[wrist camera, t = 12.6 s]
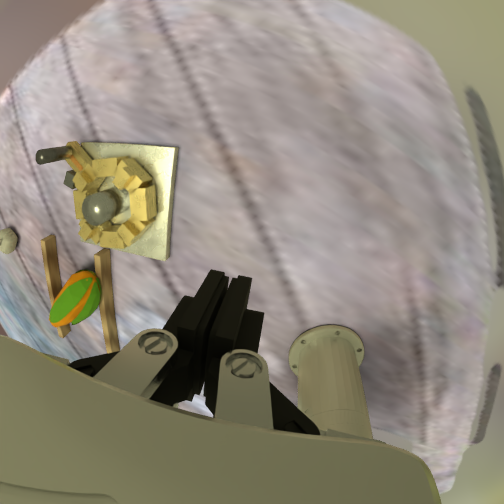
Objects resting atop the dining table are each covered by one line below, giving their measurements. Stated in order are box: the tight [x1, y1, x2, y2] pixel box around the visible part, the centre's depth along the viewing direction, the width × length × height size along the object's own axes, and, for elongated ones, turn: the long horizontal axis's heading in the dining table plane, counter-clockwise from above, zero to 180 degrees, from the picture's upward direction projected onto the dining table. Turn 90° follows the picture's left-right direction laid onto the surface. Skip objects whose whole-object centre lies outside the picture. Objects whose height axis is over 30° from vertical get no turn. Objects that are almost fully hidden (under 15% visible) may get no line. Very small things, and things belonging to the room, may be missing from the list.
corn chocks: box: [41, 235, 120, 353], centre depth 46 cm, size 22×14×3 cm, turn 171°
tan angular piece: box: [36, 141, 157, 249], centre depth 34 cm, size 18×12×8 cm
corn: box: [49, 270, 101, 327], centre depth 44 cm, size 7×8×20 cm
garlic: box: [0, 228, 18, 254], centre depth 43 cm, size 6×5×5 cm
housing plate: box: [64, 142, 179, 261], centre depth 36 cm, size 16×17×8 cm
